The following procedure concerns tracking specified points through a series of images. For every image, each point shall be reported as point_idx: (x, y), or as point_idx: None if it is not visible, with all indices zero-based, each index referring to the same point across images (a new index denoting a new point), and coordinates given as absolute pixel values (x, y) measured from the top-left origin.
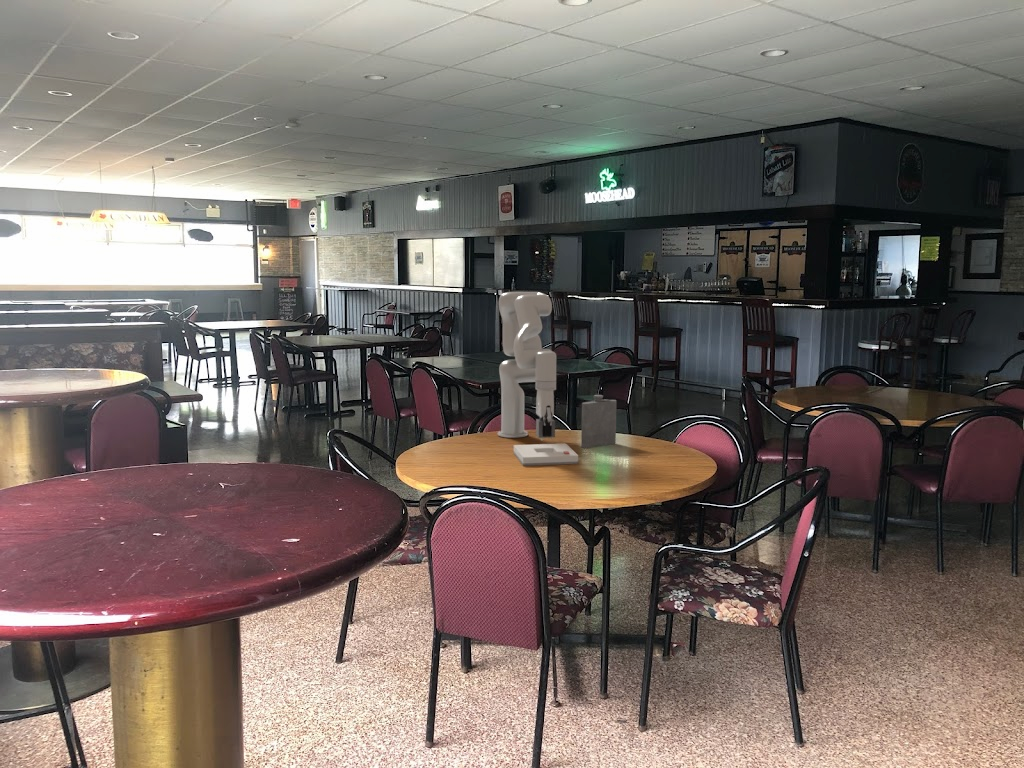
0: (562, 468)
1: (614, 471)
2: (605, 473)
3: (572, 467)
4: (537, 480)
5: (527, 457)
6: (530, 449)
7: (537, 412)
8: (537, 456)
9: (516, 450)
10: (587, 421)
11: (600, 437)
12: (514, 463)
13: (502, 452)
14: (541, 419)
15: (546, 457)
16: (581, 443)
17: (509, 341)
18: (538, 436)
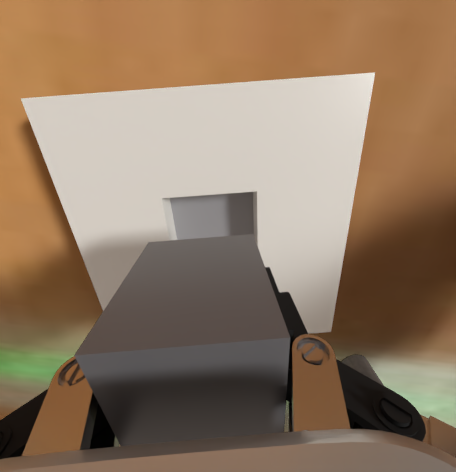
0: (49, 270)
1: (48, 388)
2: (17, 369)
3: (72, 301)
4: None
5: (34, 129)
6: (235, 172)
7: None
8: (66, 191)
9: (260, 83)
10: None
11: None
12: (103, 58)
13: (381, 4)
14: (238, 389)
15: (75, 233)
16: (363, 367)
17: None
18: (154, 245)
